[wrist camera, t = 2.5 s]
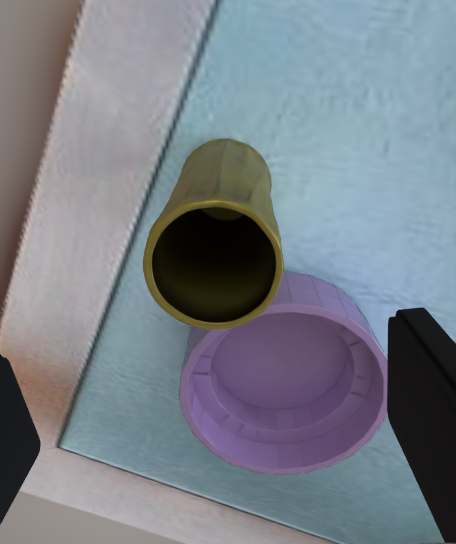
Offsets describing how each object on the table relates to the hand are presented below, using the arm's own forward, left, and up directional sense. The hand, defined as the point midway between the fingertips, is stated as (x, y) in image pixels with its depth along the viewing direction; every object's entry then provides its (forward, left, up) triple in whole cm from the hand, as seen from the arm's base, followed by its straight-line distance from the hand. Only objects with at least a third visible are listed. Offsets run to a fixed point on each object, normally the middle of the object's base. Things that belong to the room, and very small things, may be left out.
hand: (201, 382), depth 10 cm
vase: (-1, 0, -20) cm, 20 cm away
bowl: (+13, +3, -20) cm, 24 cm away
